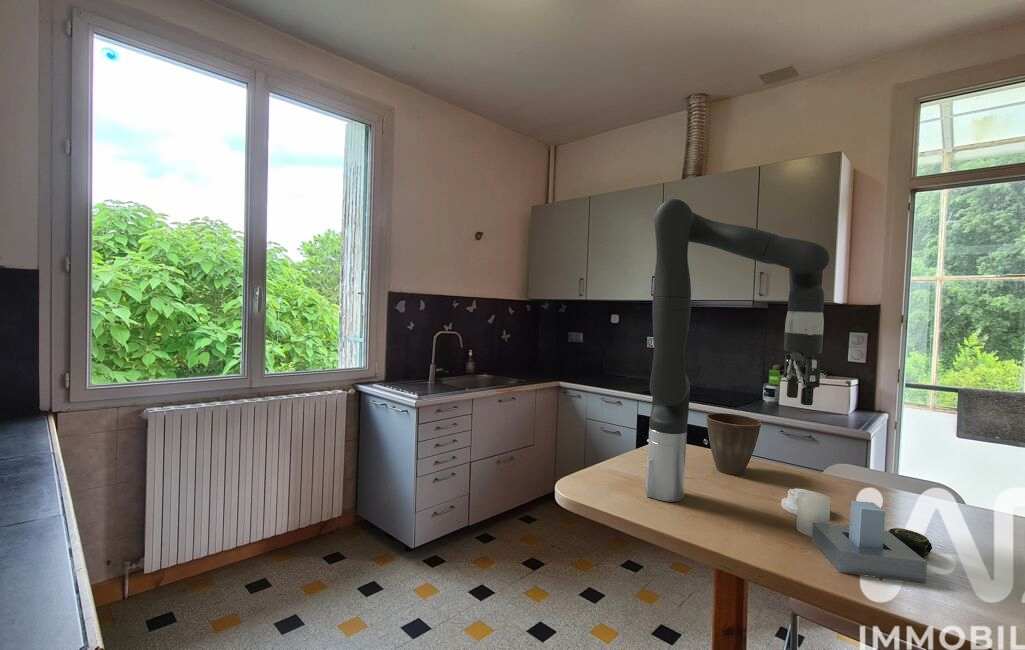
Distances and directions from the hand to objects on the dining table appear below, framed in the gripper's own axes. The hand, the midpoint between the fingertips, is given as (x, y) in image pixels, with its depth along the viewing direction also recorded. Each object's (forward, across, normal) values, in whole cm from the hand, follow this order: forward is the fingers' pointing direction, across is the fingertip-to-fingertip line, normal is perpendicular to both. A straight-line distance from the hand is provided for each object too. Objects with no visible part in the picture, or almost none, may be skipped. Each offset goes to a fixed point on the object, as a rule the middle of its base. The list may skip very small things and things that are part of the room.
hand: (798, 401), depth 109 cm
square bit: (+28, +17, +7) cm, 33 cm away
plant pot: (+28, -31, -6) cm, 42 cm away
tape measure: (+28, +11, +18) cm, 35 cm away
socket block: (+28, +17, +7) cm, 33 cm away
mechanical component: (+28, -6, +5) cm, 29 cm away
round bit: (+28, +6, +2) cm, 29 cm away
